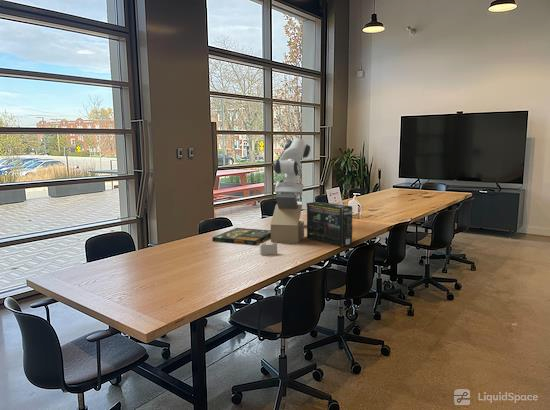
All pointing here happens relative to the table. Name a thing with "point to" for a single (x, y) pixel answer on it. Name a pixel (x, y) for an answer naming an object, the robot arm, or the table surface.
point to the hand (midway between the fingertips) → (287, 198)
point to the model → (268, 248)
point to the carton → (287, 233)
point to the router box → (329, 223)
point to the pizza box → (243, 236)
